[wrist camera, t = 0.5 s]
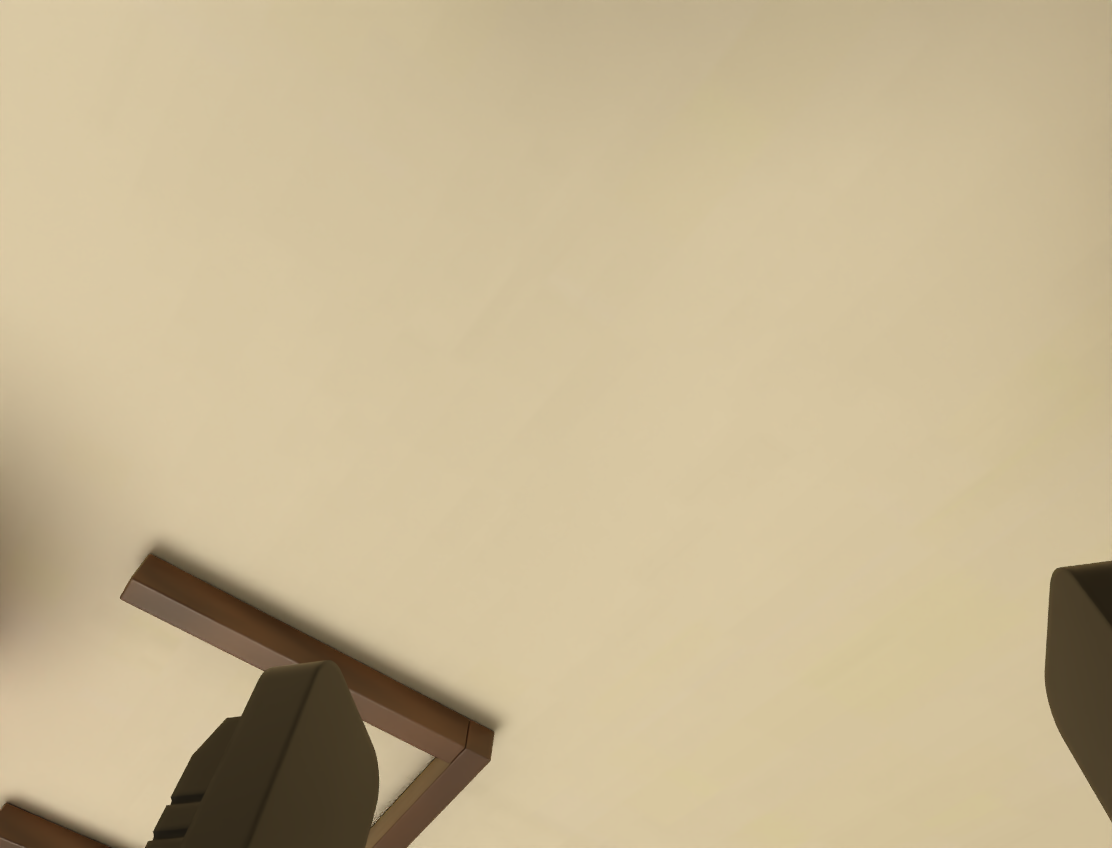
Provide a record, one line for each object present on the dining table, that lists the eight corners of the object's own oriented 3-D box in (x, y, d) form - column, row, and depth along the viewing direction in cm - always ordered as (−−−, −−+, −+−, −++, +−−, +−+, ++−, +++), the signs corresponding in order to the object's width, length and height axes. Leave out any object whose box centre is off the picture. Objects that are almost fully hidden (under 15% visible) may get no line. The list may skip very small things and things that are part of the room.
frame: (-2, 815, 40) (-23, 845, 39) (149, 552, 33) (130, 577, 31) (295, 942, 44) (286, 973, 42) (495, 731, 36) (490, 761, 35)
